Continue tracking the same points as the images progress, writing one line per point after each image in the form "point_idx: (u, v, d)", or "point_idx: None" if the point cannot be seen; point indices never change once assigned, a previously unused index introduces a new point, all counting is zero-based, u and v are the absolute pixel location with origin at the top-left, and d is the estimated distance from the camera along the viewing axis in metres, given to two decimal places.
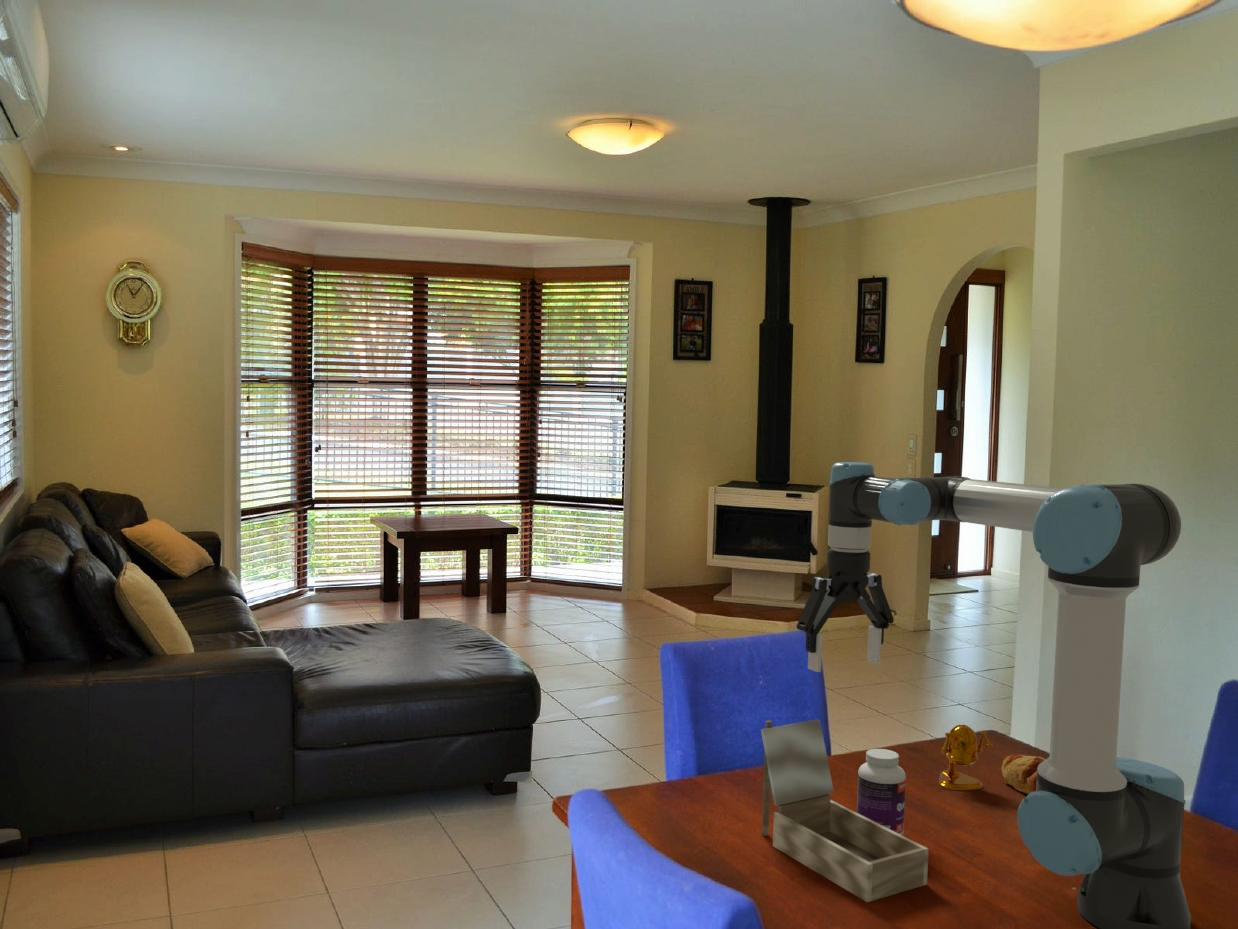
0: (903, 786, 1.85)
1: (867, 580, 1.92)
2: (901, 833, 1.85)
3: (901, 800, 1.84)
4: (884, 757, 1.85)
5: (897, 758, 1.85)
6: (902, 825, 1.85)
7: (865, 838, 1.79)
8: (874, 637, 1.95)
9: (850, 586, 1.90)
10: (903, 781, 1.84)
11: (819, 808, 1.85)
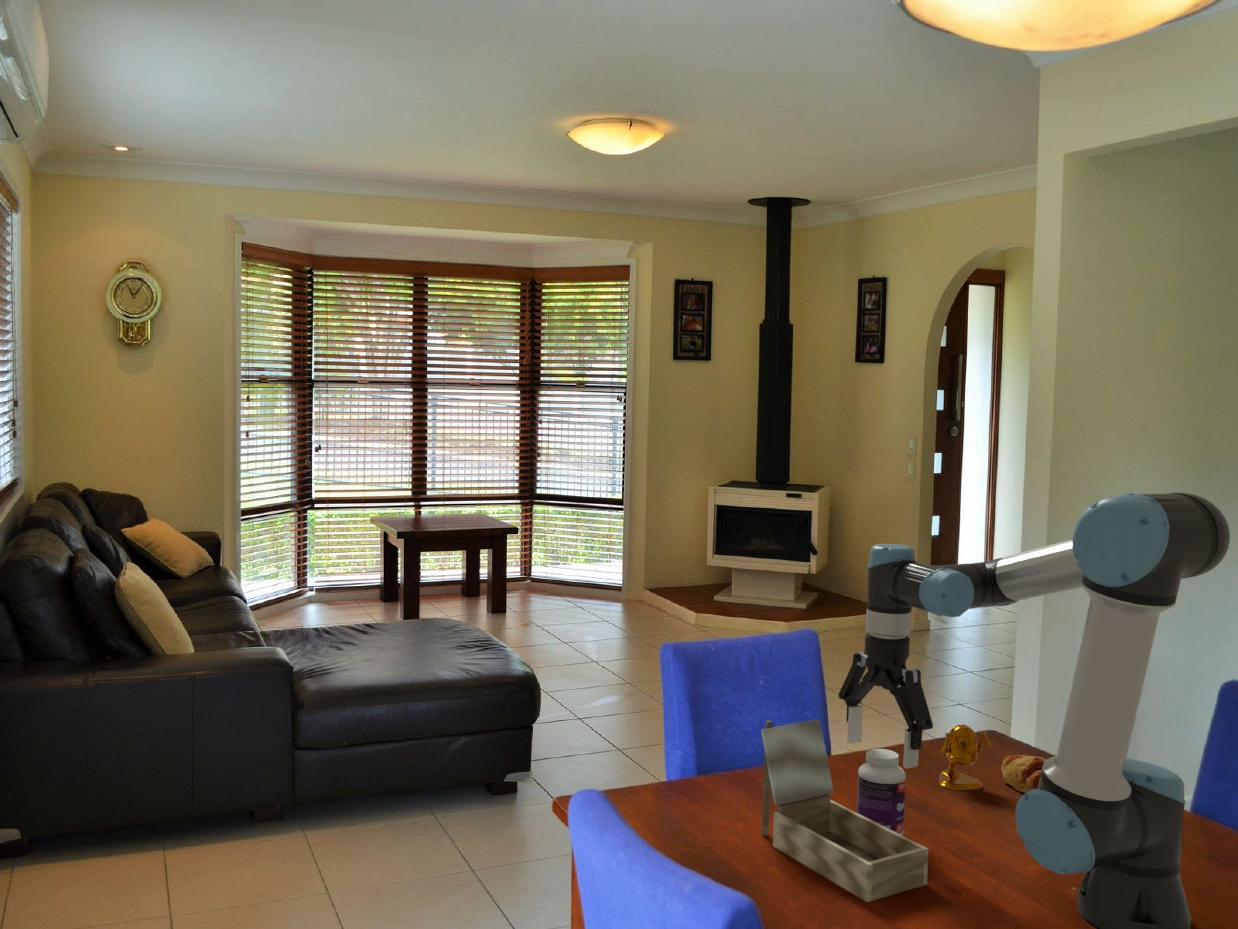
0: (903, 786, 1.85)
1: (896, 672, 1.82)
2: (901, 833, 1.85)
3: (901, 800, 1.84)
4: (884, 757, 1.85)
5: (897, 758, 1.85)
6: (902, 825, 1.85)
7: (865, 838, 1.79)
8: None
9: (873, 669, 1.86)
10: (903, 781, 1.84)
11: (819, 808, 1.85)
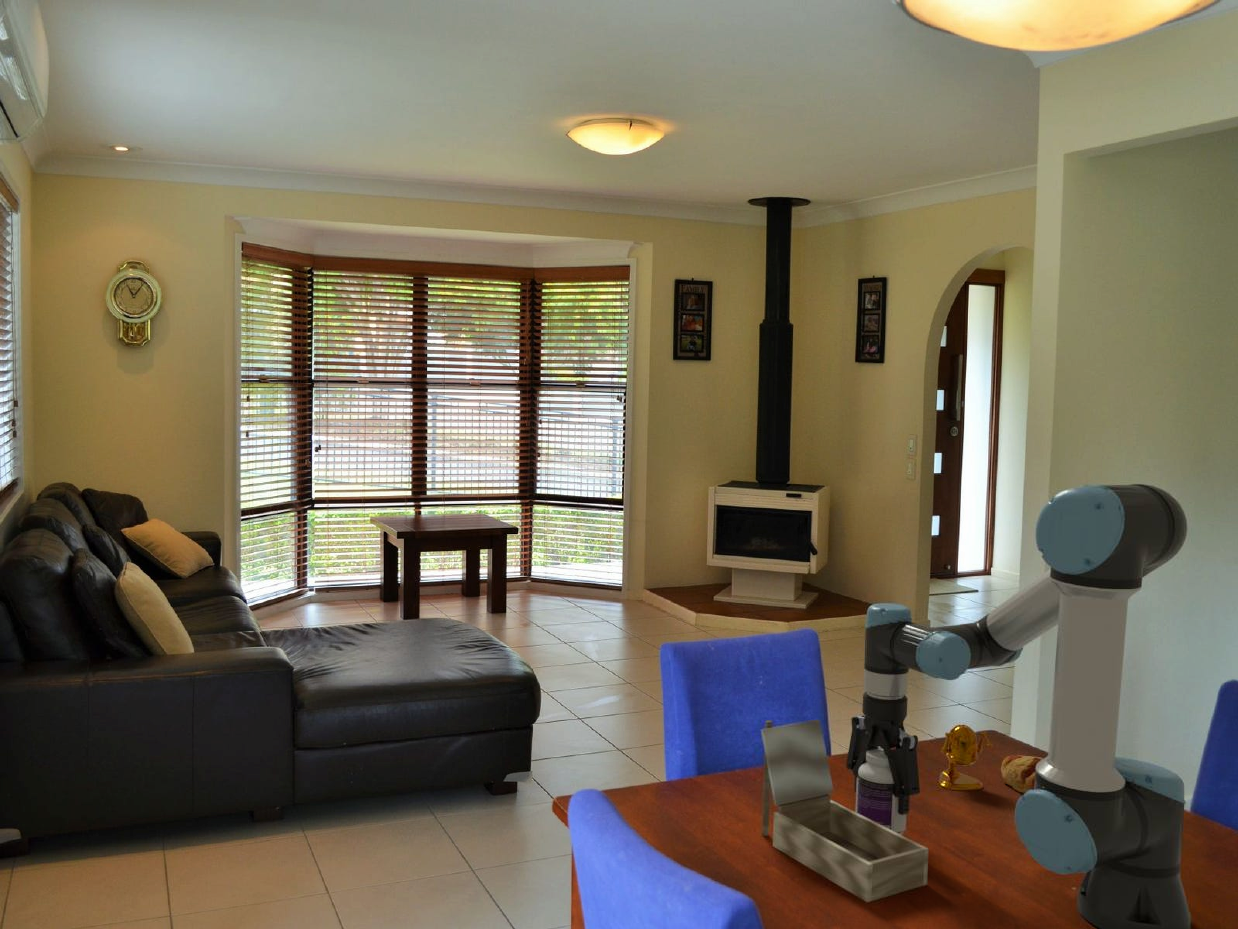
0: (903, 786, 1.85)
1: (894, 733, 1.83)
2: (901, 833, 1.85)
3: None
4: (884, 757, 1.85)
5: None
6: None
7: (865, 838, 1.79)
8: None
9: (871, 729, 1.86)
10: None
11: (819, 808, 1.85)
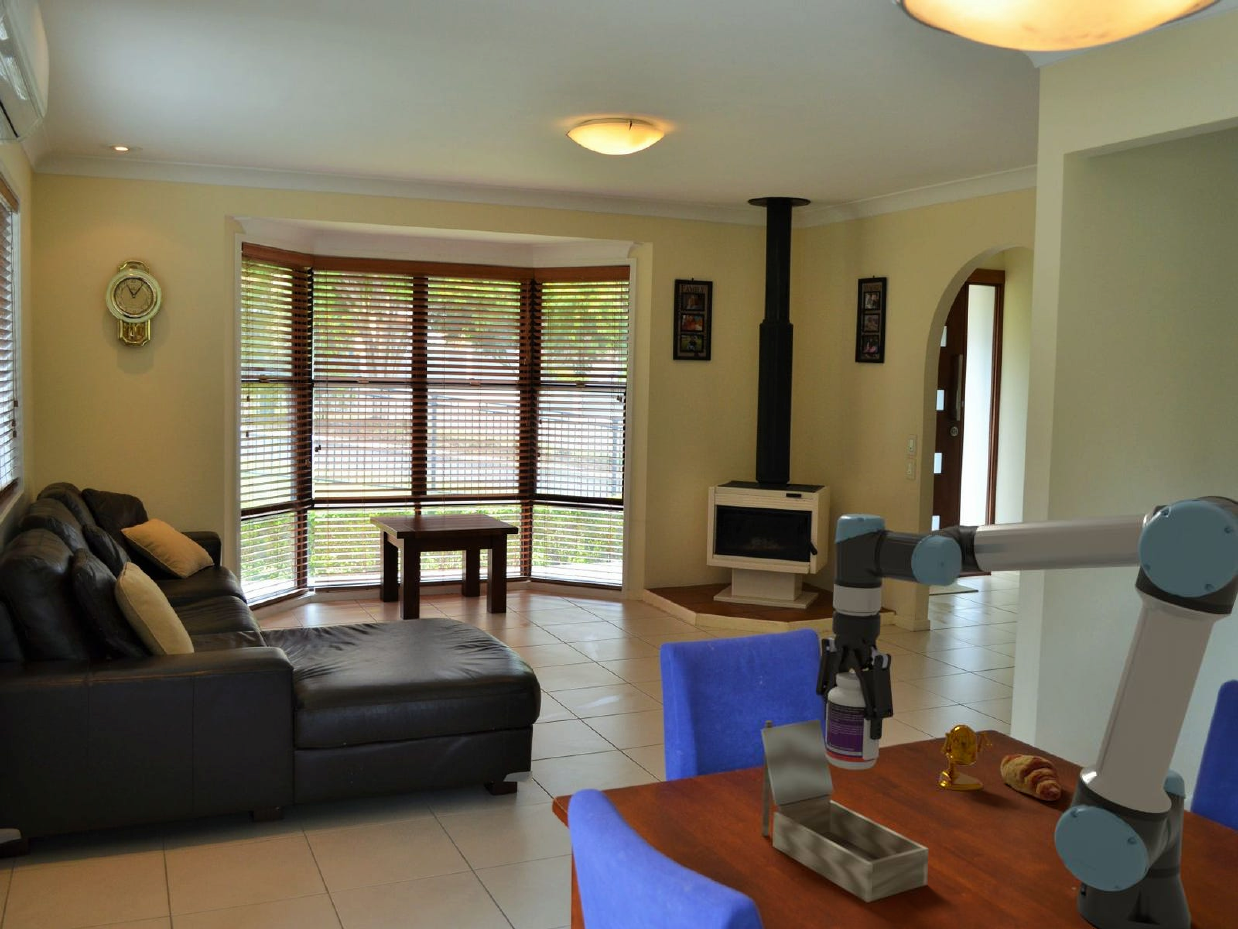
0: None
1: (866, 652, 1.69)
2: (874, 761, 1.71)
3: None
4: (855, 679, 1.71)
5: None
6: None
7: (865, 838, 1.79)
8: None
9: (841, 649, 1.73)
10: None
11: (819, 808, 1.85)
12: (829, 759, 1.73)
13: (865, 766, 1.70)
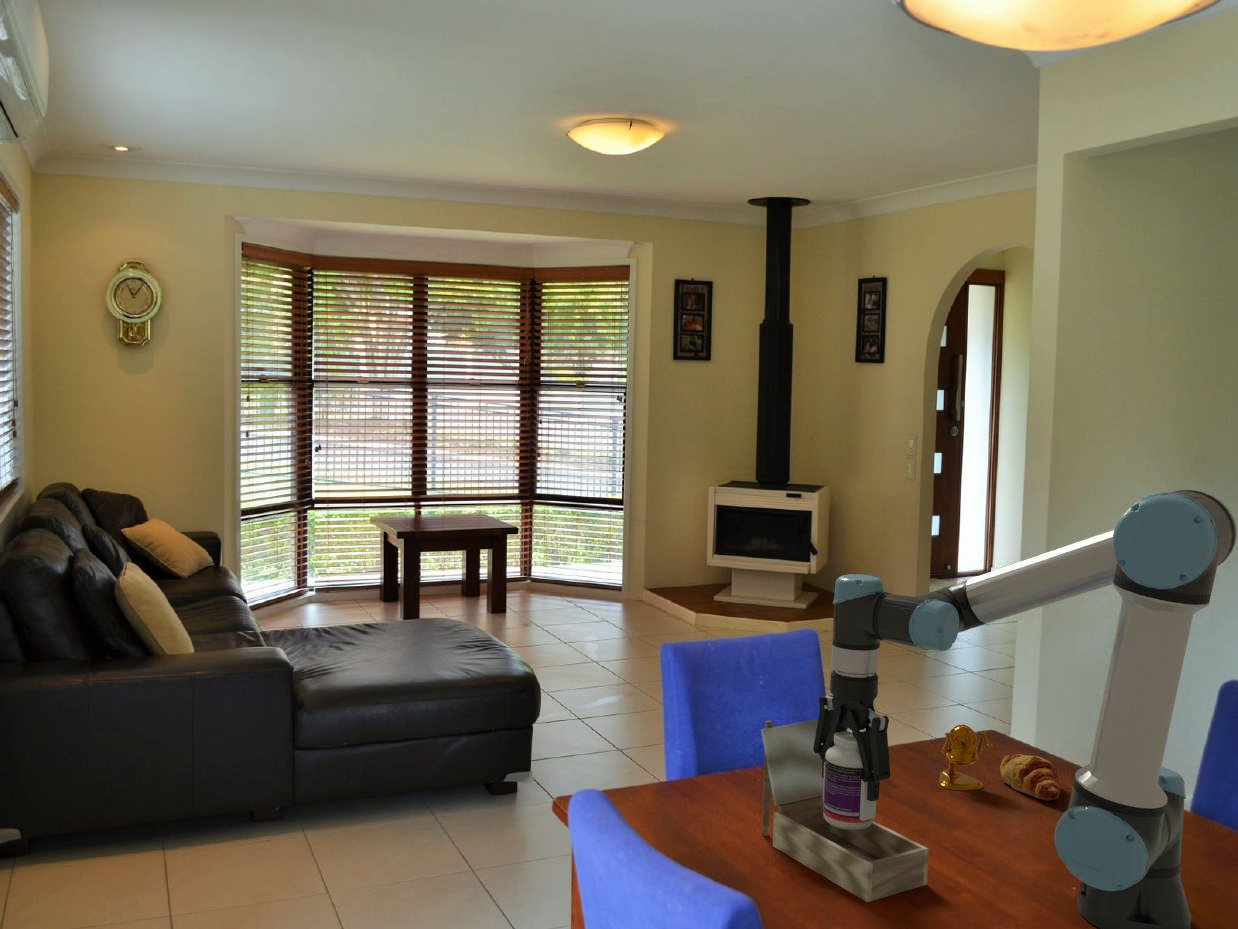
0: None
1: (863, 714, 1.70)
2: (871, 821, 1.72)
3: None
4: (853, 739, 1.72)
5: None
6: None
7: (865, 838, 1.79)
8: None
9: (839, 709, 1.73)
10: None
11: (819, 808, 1.85)
12: (826, 819, 1.73)
13: (862, 826, 1.71)
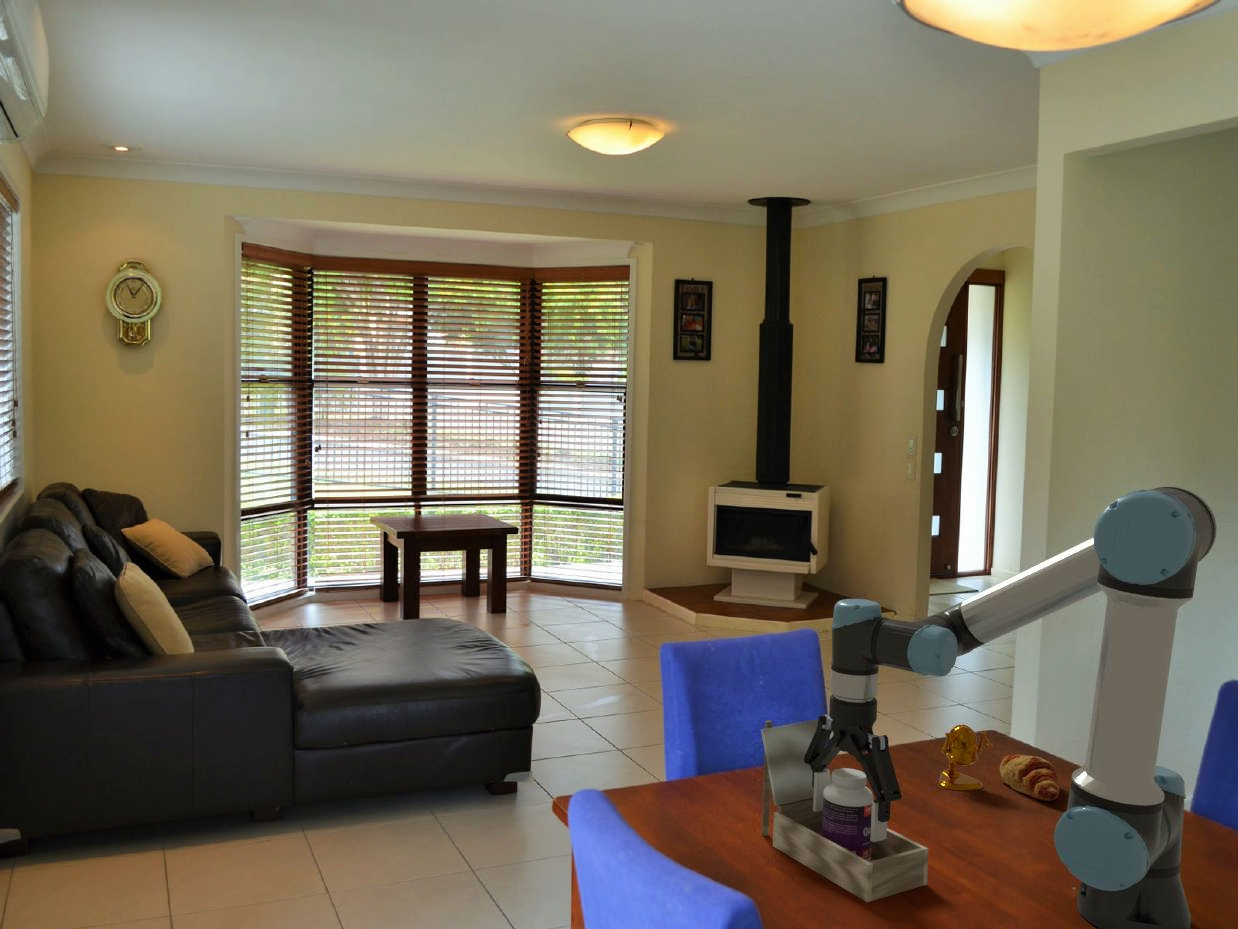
0: (870, 809, 1.72)
1: (862, 738, 1.70)
2: (868, 859, 1.73)
3: (868, 824, 1.72)
4: (850, 778, 1.72)
5: (864, 779, 1.73)
6: (869, 851, 1.73)
7: None
8: None
9: (838, 734, 1.74)
10: (870, 804, 1.72)
11: None
12: None
13: None
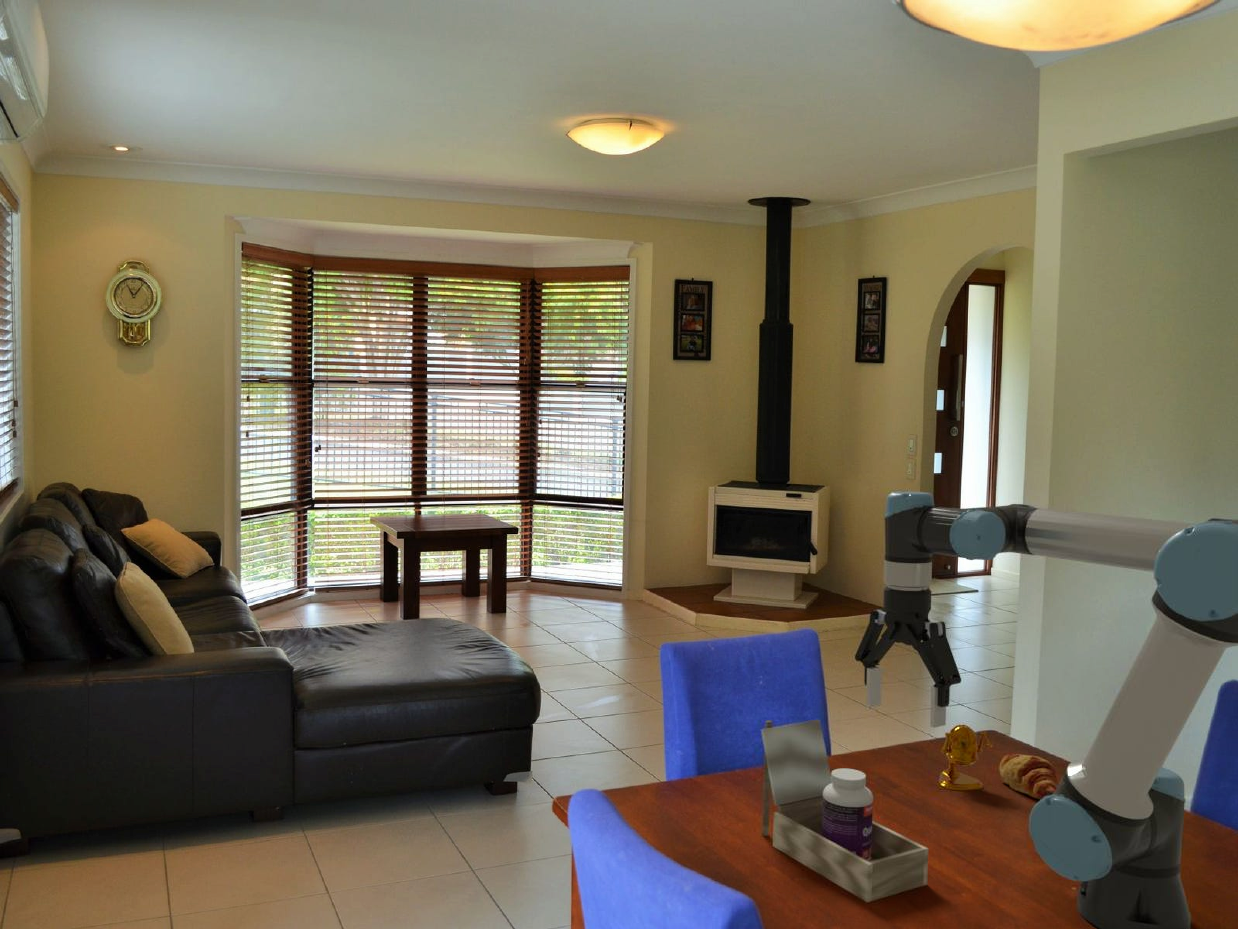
0: (870, 809, 1.72)
1: (919, 625, 1.71)
2: (868, 860, 1.73)
3: (868, 824, 1.72)
4: (850, 778, 1.72)
5: (864, 779, 1.73)
6: (869, 851, 1.73)
7: None
8: None
9: (893, 625, 1.75)
10: (870, 804, 1.72)
11: (819, 808, 1.85)
12: None
13: None
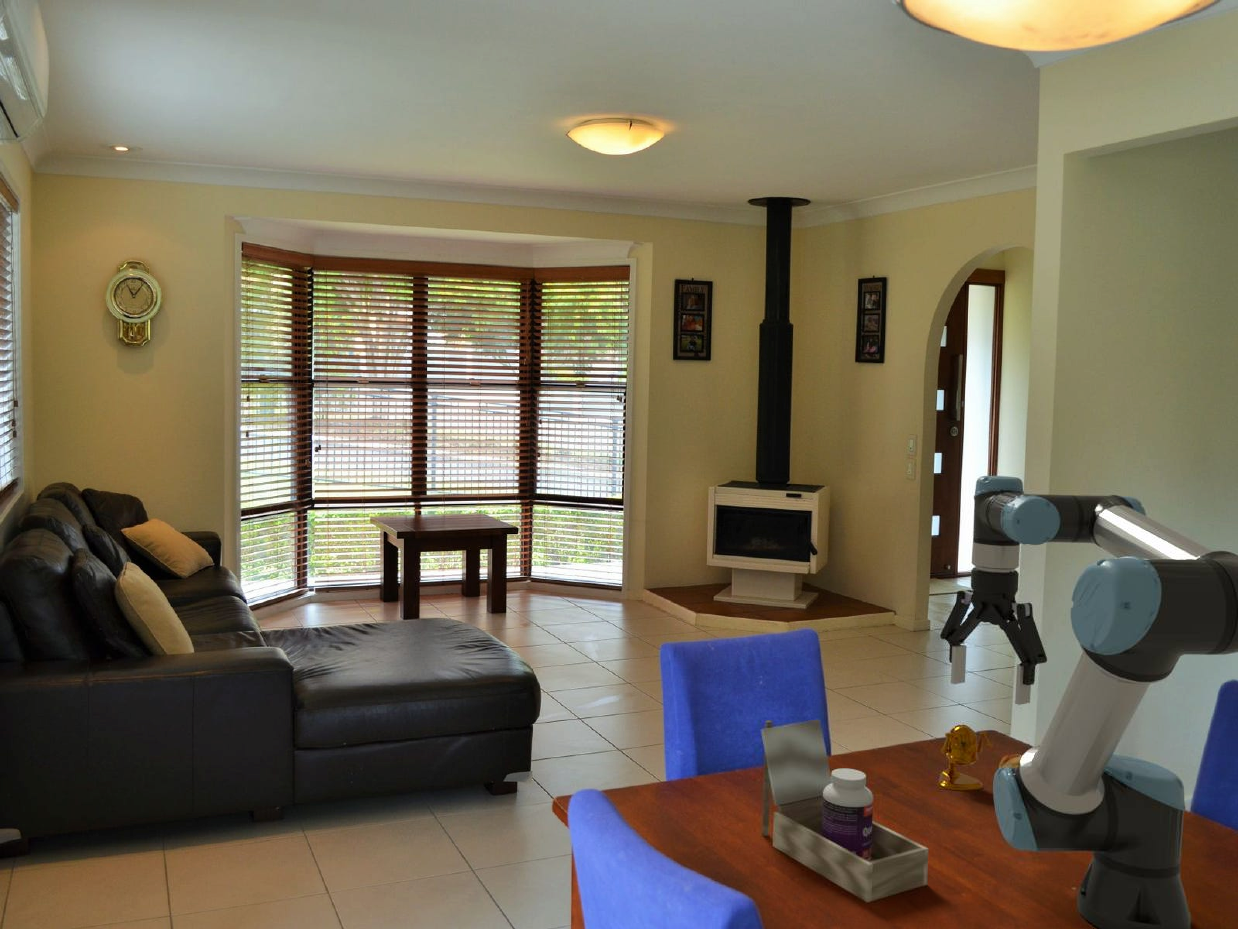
0: (870, 809, 1.72)
1: (1006, 606, 1.77)
2: (868, 860, 1.73)
3: (868, 824, 1.72)
4: (850, 778, 1.72)
5: (864, 779, 1.73)
6: (869, 851, 1.73)
7: None
8: None
9: (980, 605, 1.80)
10: (870, 804, 1.72)
11: (819, 808, 1.85)
12: None
13: None
